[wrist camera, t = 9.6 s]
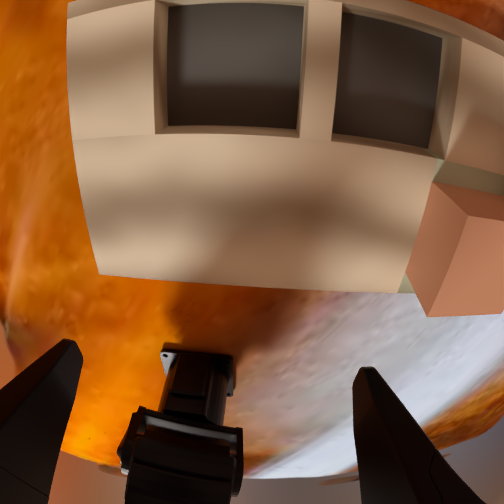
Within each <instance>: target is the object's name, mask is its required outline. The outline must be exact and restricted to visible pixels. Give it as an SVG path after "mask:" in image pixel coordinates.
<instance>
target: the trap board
mask: <svg viewBox="0 0 504 504" xmlns="http://www.w3.org/2000/svg"><path fill="white" fill-rule="evenodd" d="M67 82H68V99H69V112H70V123H71V132H72V141H73V148H74V156H75V163H76V169H77V175H78V181H79V187H80V193H81V198H82V203H83V208H84V213H85V218H86V222H87V227H88V231H89V236H90V240H91V244H92V248H93V252H94V256H95V260H96V263H97V267H98V271H99V274H102V275H112V276H122V277H133V278H144V279H155V280H167V281H179V282H192V283H205V284H219V285H234V286H249V287H266V288H284V289H303V290H325V291H350V292H381V293H415V291H414V289H413V287H412V285H411V283H410V281H409V279H408V277H407V275H406V273H405V271H406V268H407V265H408V262H409V259H410V256H411V253H412V250H413V247H414V244H415V240H416V237H417V234H418V231H419V227H420V224H421V220H422V217H423V213H424V210H425V206H426V202H427V198H428V195H429V191H430V187H431V182H436V183H442V184H448V185H453V186H459V187H464V188H469V189H474V190H479V191H483V192H488V193H493V194H497V195H502V196H504V41H503V40H501V39H499V38H497V37H495V36H493V35H492V34H490V33H488V32H486V31H484V30H481V29H479V28H477V27H475V26H473V25H471V24H469V23H466V22H464V21H462V20H459V19H457V18H455V17H452V16H450V15H447V14H445V13H442V12H439V11H437V10H434V9H431V8H429V7H426V6H423V5H420V4H417V3H414V2H411V1H407V0H77V1H73V2H70V3H68V13H67Z"/></svg>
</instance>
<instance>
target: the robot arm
mask: <svg viewBox="0 0 504 504" xmlns="http://www.w3.org/2000/svg"><path fill="white" fill-rule="evenodd" d="M160 356H161V360H162V364H163V367H164V371H165V374H166V381H165V385H164V389H163V392H162V396H161V400H160V404H159V408H158V412H157V411H153V410H150V409H146V407H143V406H139V408H138V411H137V412H135V413H133V414H132V417H131V420H130V424H129V427H128V429H127V431H126V433H125V435H124V437H123V439H122V441H121V443H120V445H119V446H118V449H117V454H118V456H119V458H120V459H121V472H122V474H125V475H128V476H127V484H126V490H125V504H230V499H231V497H237V495H238V493H239V491H240V488H241V483H242V478H243V468H244V462H243V428H239V427H236V428H233V427H227V426H223V422H224V414H225V405H226V397H231V396H233V358H232V357H231V356H229V355H218V354H207V353H197V352H188V351H179V350H171V349H162V350H161V353H160ZM82 365H83V356H82V353H81V351H80V349H79V347H78V345H77V343H76V342H75V341H74V340H70V339H62V340H61V341H60V342H58V343H57V344H56V345H55V346H53V347H52V348H51V349H50V350H48V351H47V352H46V353H45V354H43V355H42V356H41V357H40V358H38V359H37V360H36V361H35V362H33V363H32V364H31V365H30V366H28V367H27V368H26V369H25V370H23V371H22V372H21V373H20V374H19V375H17V376H16V377H15V378H14V379H12V380H11V381H10V382H9V383H8V384H6V385H5V386H4V387H3V388H2V389H1V390H0V504H48V500H49V494H50V489H51V485H52V481H53V476H54V472H55V468H56V464H57V459H58V456H59V452H60V448H61V444H62V441H63V437H64V434H65V430H66V427H67V423H68V420H69V417H70V413H71V410H72V407H73V404H74V400H75V396H76V391H77V387H78V382H79V377H80V373H81V369H82ZM352 391H353V429H354V439H355V447H356V455H357V463H358V471H359V481H360V491H361V501H362V504H486V503H485V502H484V501H482V500H481V499H480V498H479V497H478V496H477V495H476V494H475V493H474V492H473V491H472V489H471V488H470V487H468V485H467V484H466V483H465V482H464V481H463V480H462V479H461V478H460V477H459V476H458V474H457V473H456V472H455V471H454V470H453V469H452V468H451V467H450V465H449V464H448V463H447V461H446V460H445V459H444V458H443V456H442V455H441V454H440V452H439V451H438V450H437V449H435V446H434V444H433V443H432V442H431V440H430V439H429V438H428V436H427V435H426V434H425V432H424V431H423V430H422V429H421V427H420V426H419V425H418V423H417V422H416V421H415V419H414V418H413V417H412V415H411V414H410V413H409V411H408V410H407V409H406V407H405V406H404V405H403V404H402V402H401V401H400V400H399V398H398V397H397V396H396V394H395V393H394V392H393V391H392V389H391V388H390V387H389V385H388V384H387V383H386V382H385V380H384V379H383V378H382V376H381V375H380V374H379V373H378V371H377V370H376V369H375V368H374V367H361V368H360V369H359V371H358V373H357V375H356V377H355V379H354V382H353V387H352Z"/></svg>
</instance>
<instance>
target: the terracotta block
mask: <svg viewBox="0 0 504 504" xmlns="http://www.w3.org/2000/svg"><path fill="white" fill-rule="evenodd" d="M405 273H406V275H407V277H408V279H409V281H410V283H411V285H412V287H413V289H414V291H415V293H416V295H417V297H418V299H419V301H420V303H421V305H422V307H423V309H424V312H425V314H426V316H427V317H444V316H467V315H486V314H501V313H502V311H503V310H504V196H502V195H497V194H493V193H488V192H483V191H479V190H474V189H469V188H464V187H459V186H453V185H448V184H442V183H436V182H431V187H430V191H429V195H428V198H427V202H426V206H425V210H424V213H423V217H422V220H421V224H420V227H419V231H418V234H417V237H416V240H415V244H414V247H413V250H412V253H411V256H410V259H409V262H408V265H407V268H406V271H405Z"/></svg>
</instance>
